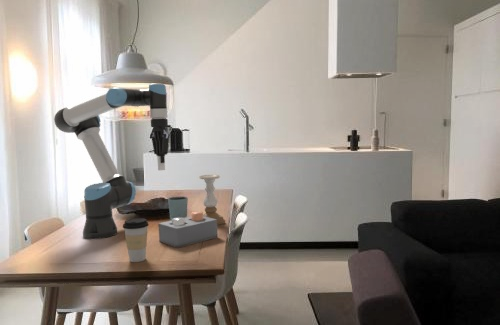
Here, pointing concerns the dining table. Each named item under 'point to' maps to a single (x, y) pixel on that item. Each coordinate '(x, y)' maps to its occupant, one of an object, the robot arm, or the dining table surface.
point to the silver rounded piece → (178, 221)
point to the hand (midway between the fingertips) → (161, 169)
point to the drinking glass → (177, 207)
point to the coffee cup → (136, 238)
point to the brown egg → (196, 216)
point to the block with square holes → (187, 232)
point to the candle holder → (211, 199)
